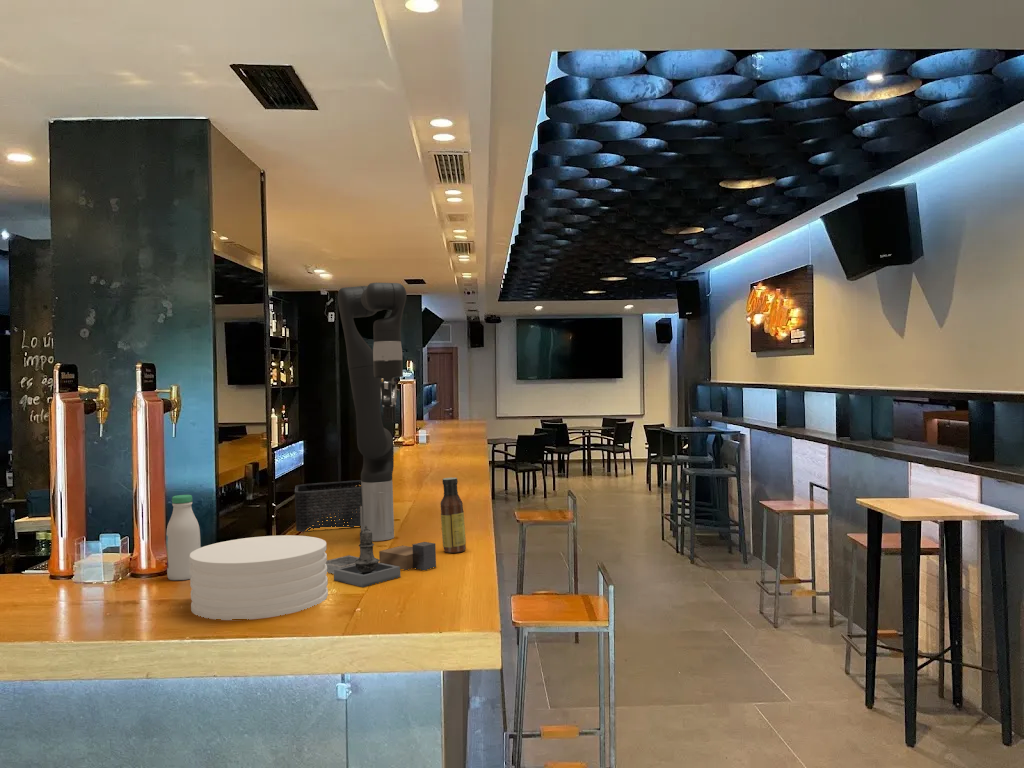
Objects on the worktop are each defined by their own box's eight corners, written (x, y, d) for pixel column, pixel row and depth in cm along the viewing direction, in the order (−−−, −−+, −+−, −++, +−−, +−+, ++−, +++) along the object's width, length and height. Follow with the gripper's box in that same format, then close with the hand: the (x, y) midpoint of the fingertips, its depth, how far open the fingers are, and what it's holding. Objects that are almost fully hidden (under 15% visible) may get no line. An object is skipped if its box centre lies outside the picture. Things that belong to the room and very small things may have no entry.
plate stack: (353, 597, 170) (352, 544, 170) (231, 630, 149) (229, 569, 149) (285, 578, 189) (283, 530, 189) (168, 604, 169) (166, 551, 169)
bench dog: (413, 568, 194) (412, 544, 194) (425, 565, 197) (424, 541, 197) (424, 570, 191) (423, 546, 191) (436, 567, 194) (435, 543, 194)
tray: (333, 580, 185) (333, 569, 185) (371, 570, 193) (370, 560, 193) (363, 587, 178) (362, 576, 178) (400, 577, 186) (400, 566, 186)
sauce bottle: (467, 548, 216) (465, 476, 216) (464, 553, 210) (461, 479, 210) (444, 548, 217) (441, 476, 216) (439, 553, 210) (437, 479, 210)
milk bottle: (208, 574, 194) (205, 493, 194) (183, 582, 187) (180, 498, 187) (185, 572, 198) (183, 493, 198) (160, 579, 191) (157, 497, 191)
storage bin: (295, 533, 248) (294, 490, 248) (296, 523, 267) (295, 483, 267) (386, 526, 255) (385, 485, 255) (381, 517, 274) (380, 478, 274)
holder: (318, 570, 195) (317, 562, 195) (349, 563, 203) (348, 555, 203) (341, 575, 189) (341, 567, 189) (372, 567, 196) (372, 560, 196)
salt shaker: (382, 577, 184) (381, 525, 184) (358, 580, 182) (356, 528, 182) (376, 571, 189) (374, 522, 189) (351, 575, 187) (350, 524, 187)
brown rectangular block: (379, 566, 199) (379, 551, 199) (403, 560, 205) (402, 545, 205) (406, 572, 192) (406, 555, 192) (430, 565, 199) (429, 549, 199)
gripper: (376, 360, 212) (378, 420, 212) (370, 358, 198) (372, 423, 198) (404, 359, 212) (406, 419, 212) (400, 358, 198) (402, 422, 198)
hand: (389, 421), depth 205 cm, fingers open, 8 cm apart
